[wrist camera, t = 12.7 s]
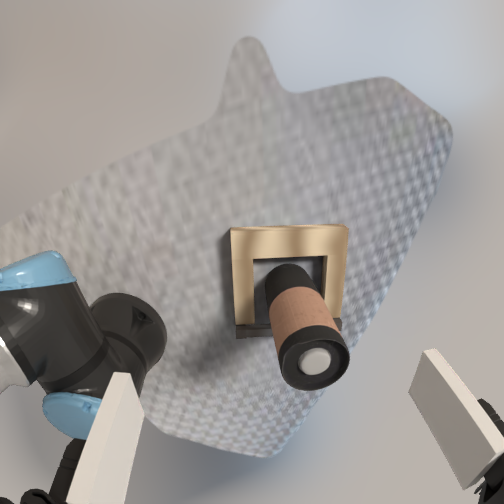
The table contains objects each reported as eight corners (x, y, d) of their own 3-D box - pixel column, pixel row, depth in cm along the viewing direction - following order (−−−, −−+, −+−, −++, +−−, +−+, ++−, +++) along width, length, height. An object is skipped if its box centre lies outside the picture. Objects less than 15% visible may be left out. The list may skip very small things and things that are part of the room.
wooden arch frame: (235, 325, 51) (236, 338, 48) (230, 227, 46) (230, 235, 42) (334, 318, 52) (341, 330, 49) (343, 224, 46) (351, 231, 43)
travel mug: (311, 301, 51) (348, 384, 32) (265, 308, 51) (282, 396, 32) (309, 258, 48) (353, 331, 29) (260, 265, 48) (277, 344, 29)
